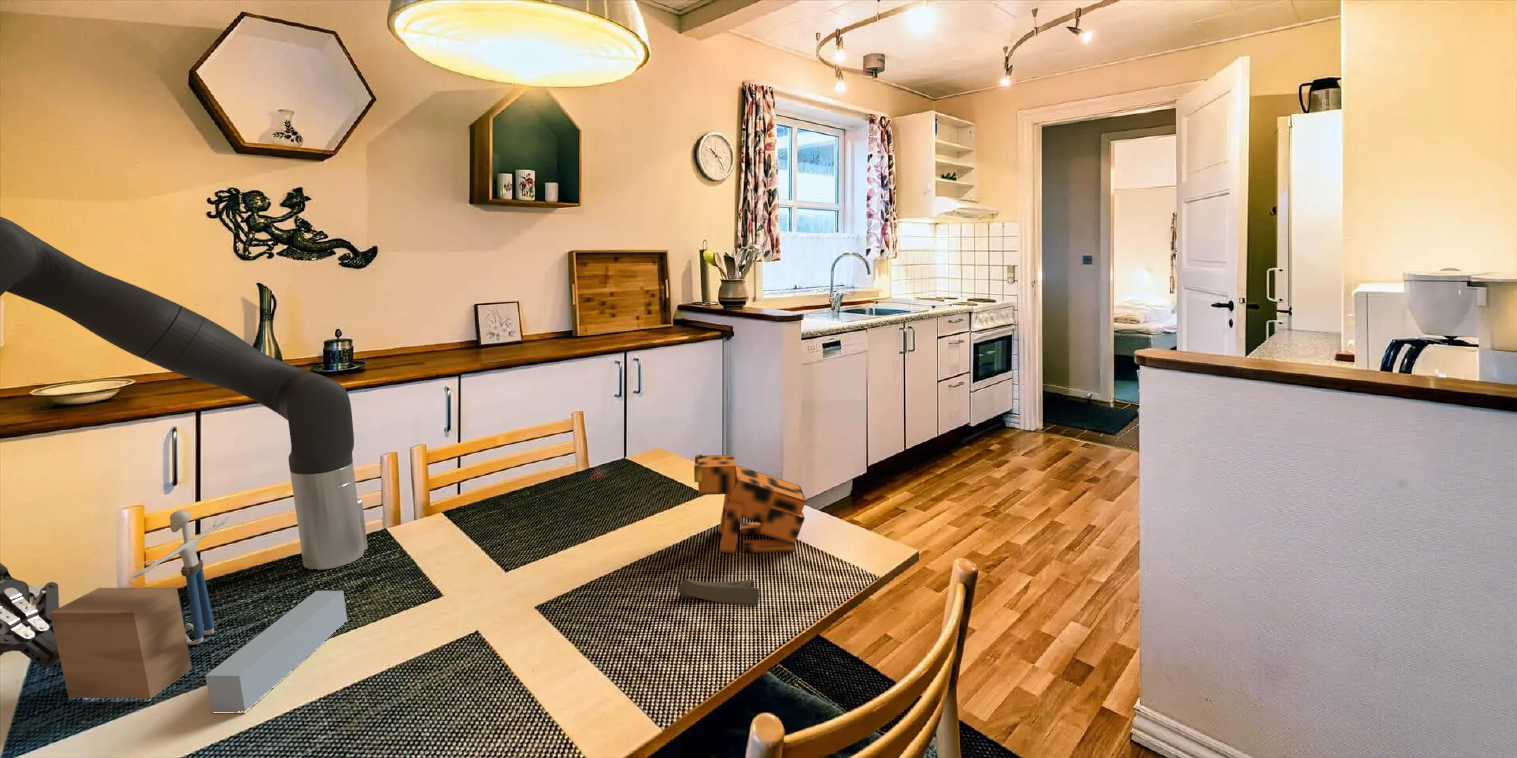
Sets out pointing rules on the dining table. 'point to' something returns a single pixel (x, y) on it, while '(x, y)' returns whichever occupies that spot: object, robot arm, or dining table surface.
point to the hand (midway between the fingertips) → (60, 659)
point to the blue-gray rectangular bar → (275, 652)
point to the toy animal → (751, 504)
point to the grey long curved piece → (721, 591)
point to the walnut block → (121, 642)
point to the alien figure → (191, 575)
